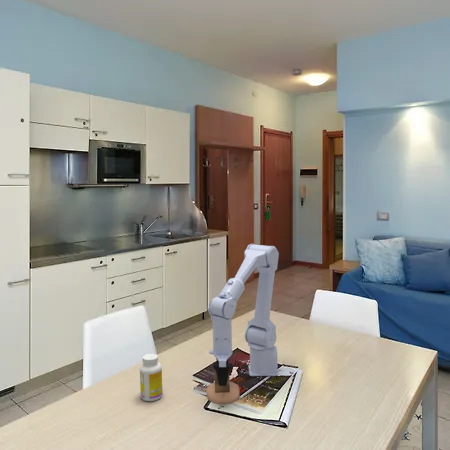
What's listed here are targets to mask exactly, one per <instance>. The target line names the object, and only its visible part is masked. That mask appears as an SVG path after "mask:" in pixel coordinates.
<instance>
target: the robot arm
mask: <svg viewBox="0 0 450 450" xmlns="http://www.w3.org/2000/svg"><path fill="white" fill-rule="evenodd" d="M279 255H280V253H279V251H278V249H277V248H276V246H274V245H261V244H255V243H250V244H248V245H247V247H246V249H245V250H244V259H243V262H242V263H241V265H240V266H239V269H238V270H237V272H236V275H235V276H234V277H233V278H232V277H231V278H229V279H228V281H227V282H226V283H225V285H224V287H223V288H222V289H221V291H220V292H219V294H218V296H215V297H213V298H212V299H211V300H210V301H209V303H208V307H207V312H208V314H209V315H210V320H211V321H212V349H209V351H208V354H209V355H213V356H214V357H215V359H216V362H212V367H213V369H215V371H216V374H217V377H218V382H219V386H226V385H227V381H228V375H229V373H230V371H231V369H232V367H233V363H232V362H231V363H229V361H230V358H231V356H232V355H233V346H232V345H233V343H232V342H233V341H232V339H233V338H232V335H233V333H232V331H233V330H232V329H233V328H232V327H233V326H232V317H233V316H234V315H235V313H236V309H237V305H238V300H239V299H240V297H241V295H242V294H243V292H244V291H245V283H246V281H247V280H248V279H249V277H250V276H251V275H252V274H253V272H254V271H255V270H256V269H257V271H258V272H259V275H258V282H257V283H258V284H257V291H256V299H255V308H254V317H253V318H251V319H250V320H248V321H247V325H246V329H245V331H244V340H245V341H246V343H247V346H248V347H249V364H248V365H247V366H248V374H249V376H250V377H271V376H272V377H274V376H279V374H278V365H279V363H278V348H277V345H276V342H277V334H276V333H277V332H276V329H277V326H276V325H275V324H274V322H273V321H272V320H271V319H270V315H271V308H272V300H273V291H274V285H275V284H274V282H275V275H276V274H275V272H276V271H277V270H278V264H279V263H278V262H279Z"/></svg>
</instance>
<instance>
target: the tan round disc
mask: <svg viewBox="0 0 450 450" xmlns="http://www.w3.org/2000/svg"><path fill="white" fill-rule="evenodd" d="M206 397H207V400H208V401H209V402H211V403H212V404H213V403H214V404H217V405H228V404H232V403H234V402H237V401H238V400H239V398H240V387H239V385H238V384H236V383H235V382H233V381H230V392H224V393H215V381H214V382H212V383H210V384H209V385H207V387H206ZM238 397H239V398H238Z"/></svg>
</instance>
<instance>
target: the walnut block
mask: <svg viewBox="0 0 450 450" xmlns="http://www.w3.org/2000/svg"><path fill="white" fill-rule="evenodd" d="M213 369H214V368H213ZM213 373H214V382H215V393H224V392H230V382H231V381H230V379H231V375H230V372H229V375H228V381H227V385H226V386H219V382H218V377H217V374H216V371H215V369H214V371H213Z"/></svg>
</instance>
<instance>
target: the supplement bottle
mask: <svg viewBox="0 0 450 450" xmlns="http://www.w3.org/2000/svg"><path fill="white" fill-rule="evenodd" d="M162 369H163V367H162V364H161V363H160V362H159V355H158V354H156V353H147V354H144V355H143V356H142V364H141V365H140V366H139V384H140V386H139V388H140V397H141V399H142V400H143V401H145V402H155V401H158V400H159V399H161V398H162V396H163V372H162V371H163V370H162Z"/></svg>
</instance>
